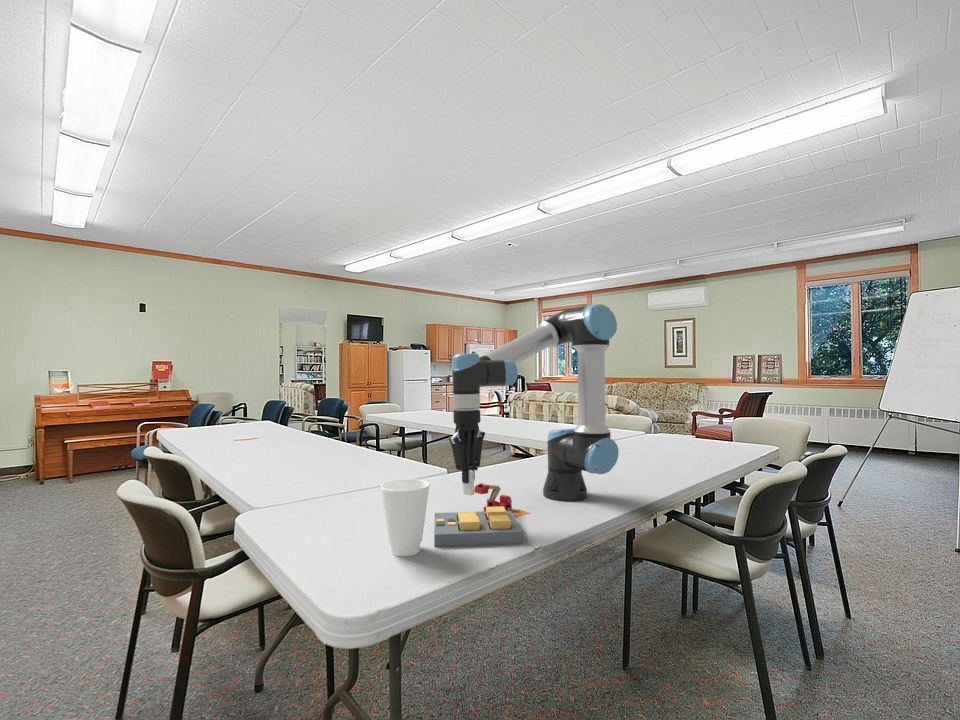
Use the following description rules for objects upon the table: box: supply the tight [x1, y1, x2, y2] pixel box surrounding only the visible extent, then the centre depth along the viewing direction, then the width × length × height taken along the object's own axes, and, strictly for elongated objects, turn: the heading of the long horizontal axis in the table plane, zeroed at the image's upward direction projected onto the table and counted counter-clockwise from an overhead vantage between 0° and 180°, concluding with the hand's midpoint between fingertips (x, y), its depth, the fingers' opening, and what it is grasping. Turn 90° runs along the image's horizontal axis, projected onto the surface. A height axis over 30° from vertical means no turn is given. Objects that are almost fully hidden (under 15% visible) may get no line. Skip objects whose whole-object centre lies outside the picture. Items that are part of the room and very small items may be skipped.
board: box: [433, 510, 523, 548], centre depth 129 cm, size 22×18×3 cm
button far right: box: [458, 511, 477, 521], centre depth 133 cm, size 5×5×3 cm
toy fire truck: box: [474, 482, 513, 512], centre depth 146 cm, size 3×14×10 cm, turn 134°
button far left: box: [485, 506, 507, 520], centre depth 133 cm, size 5×5×3 cm
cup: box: [380, 478, 431, 557], centre depth 116 cm, size 12×12×16 cm
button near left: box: [489, 515, 511, 530], centre depth 125 cm, size 5×5×3 cm
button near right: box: [459, 516, 480, 531], centre depth 125 cm, size 5×5×3 cm
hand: (468, 494), depth 133 cm, fingers closed
